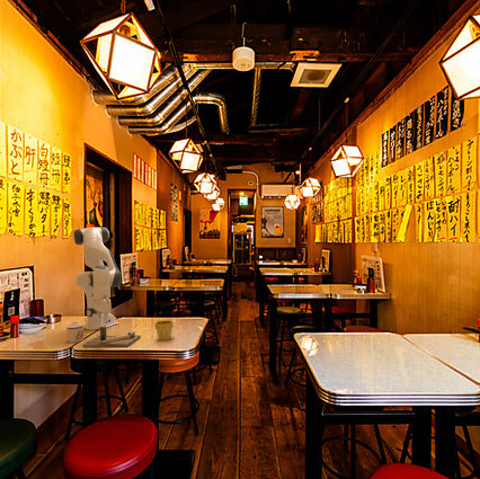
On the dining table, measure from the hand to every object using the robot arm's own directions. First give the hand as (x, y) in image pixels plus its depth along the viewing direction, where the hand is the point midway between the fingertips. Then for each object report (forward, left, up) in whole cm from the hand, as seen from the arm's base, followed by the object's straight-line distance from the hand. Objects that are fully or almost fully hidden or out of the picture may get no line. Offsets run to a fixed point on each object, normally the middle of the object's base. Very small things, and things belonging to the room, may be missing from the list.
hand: (102, 319), depth 186 cm
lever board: (-7, -1, -15) cm, 16 cm away
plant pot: (-25, +23, -15) cm, 37 cm away
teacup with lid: (-2, -25, -15) cm, 29 cm away
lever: (-8, +3, -13) cm, 16 cm away
